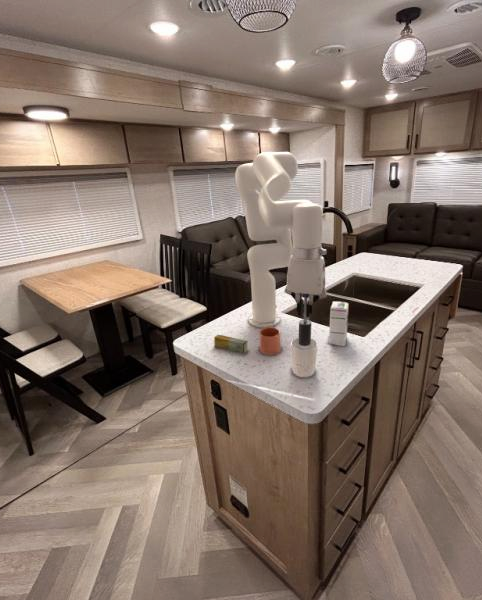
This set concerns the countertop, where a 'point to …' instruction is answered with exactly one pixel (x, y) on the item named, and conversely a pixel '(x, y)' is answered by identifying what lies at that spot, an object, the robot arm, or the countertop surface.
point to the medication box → (230, 344)
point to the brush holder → (270, 340)
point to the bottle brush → (305, 326)
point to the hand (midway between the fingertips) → (304, 314)
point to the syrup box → (338, 323)
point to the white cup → (303, 358)
